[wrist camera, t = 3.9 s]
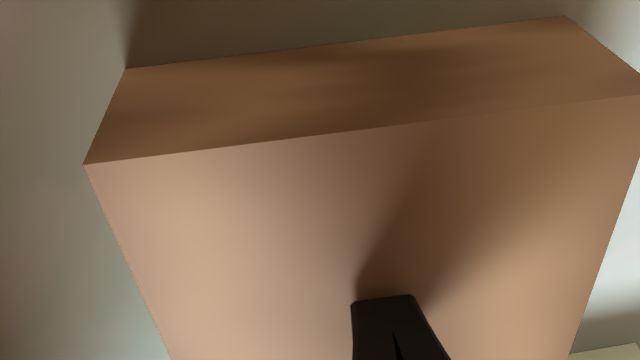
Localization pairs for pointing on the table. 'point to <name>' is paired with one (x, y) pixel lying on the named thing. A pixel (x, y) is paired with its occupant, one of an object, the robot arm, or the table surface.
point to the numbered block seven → (609, 353)
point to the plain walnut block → (372, 189)
